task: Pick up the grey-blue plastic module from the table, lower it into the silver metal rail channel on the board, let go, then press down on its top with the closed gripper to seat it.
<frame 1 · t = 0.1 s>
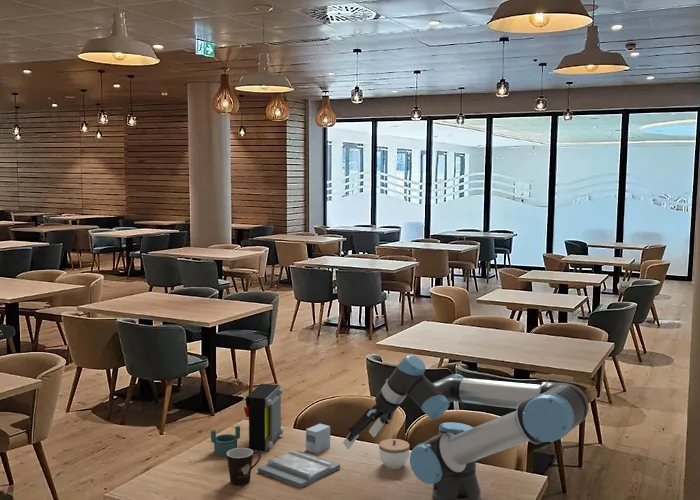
hand: (359, 439, 226), 15 cm above the table, tool tilted 35°, fingers open, 13 cm apart
din rail: (299, 463, 239), on the mounting board, point 2 cm above the table
electrical component: (264, 442, 265), on the table
mounting board: (299, 470, 239), on the table
coffee mug: (244, 482, 230), on the table
module: (318, 448, 259), on the table
bracket: (226, 452, 255), on the table
lidded jar: (394, 466, 243), on the table
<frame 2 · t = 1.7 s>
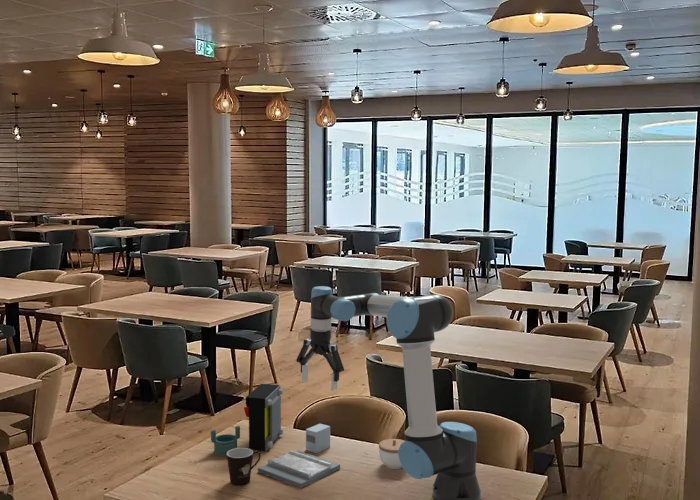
hand: (319, 385, 254), 25 cm above the table, tool pointing down, fingers open, 13 cm apart
nothing on the table moved.
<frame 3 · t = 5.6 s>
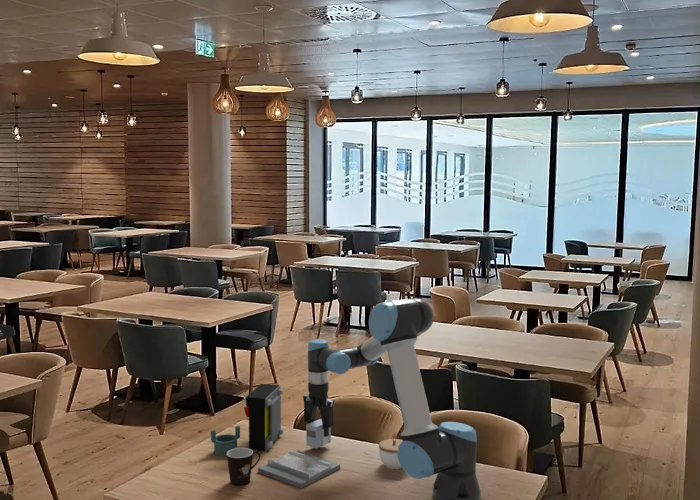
hand: (318, 442, 258), 2 cm above the table, tool pointing down, fingers closed on module, 5 cm apart
module: (318, 443, 258), point 2 cm above the table, touching gripper
everything else where it was.
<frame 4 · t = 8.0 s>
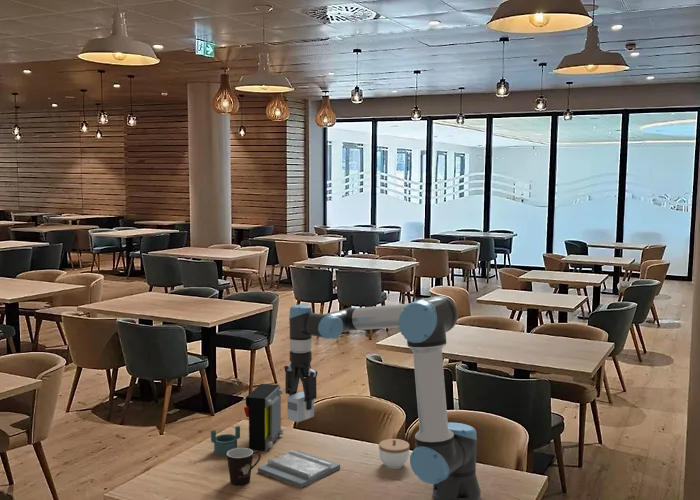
hand: (300, 416, 238), 19 cm above the table, tool pointing down, fingers closed on module, 5 cm apart
module: (300, 417, 238), point 18 cm above the table, touching gripper
everything else where it was.
when the fingers open (3 cm above the table, at t = 10.7 s): module stays where it is, resting on din rail.
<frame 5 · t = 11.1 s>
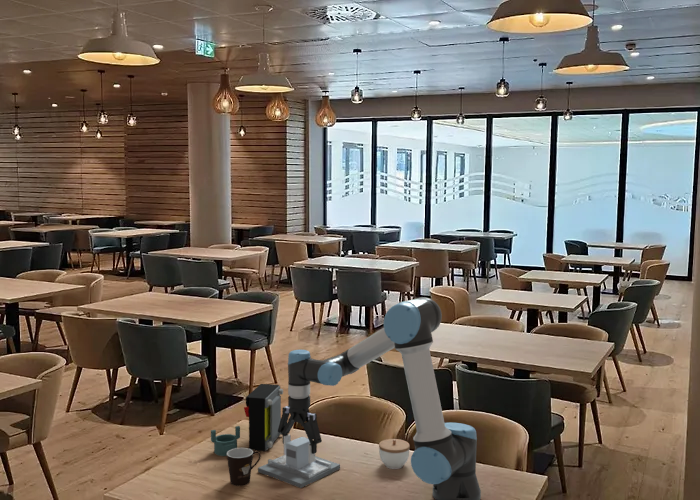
hand: (299, 457, 239), 4 cm above the table, tool pointing down, fingers open, 11 cm apart
module: (299, 463, 239), point 2 cm above the table, touching din rail
everything else where it was.
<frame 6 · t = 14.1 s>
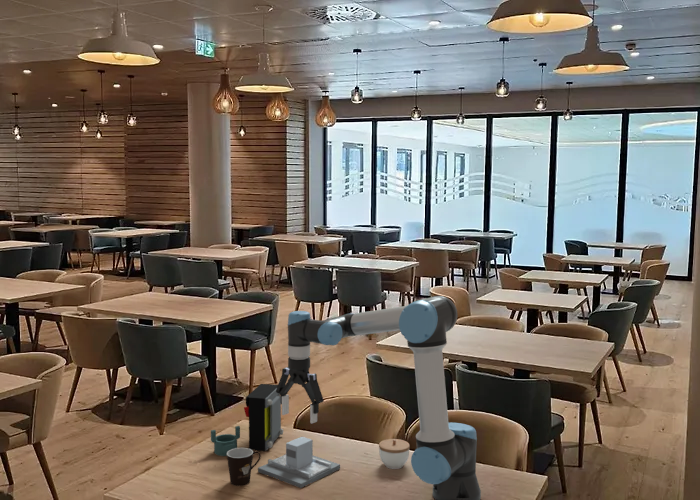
hand: (299, 418, 237), 19 cm above the table, tool pointing down, fingers open, 12 cm apart
nothing on the table moved.
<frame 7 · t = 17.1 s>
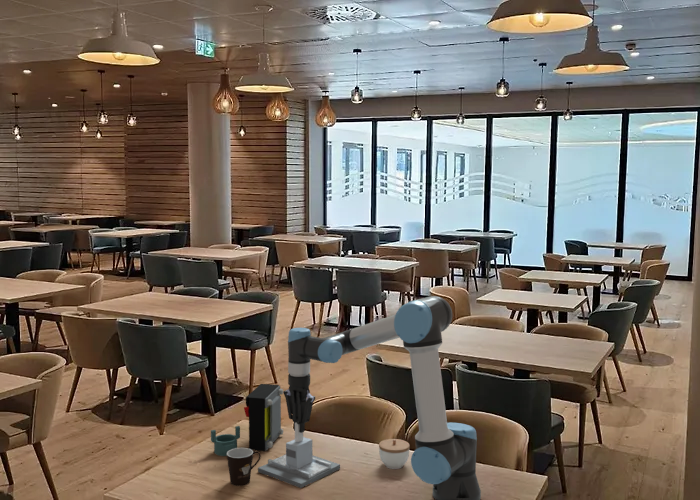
hand: (299, 440, 238), 11 cm above the table, tool pointing down, fingers closed
module: (299, 463, 239), point 2 cm above the table, touching din rail, gripper
everything else where it was.
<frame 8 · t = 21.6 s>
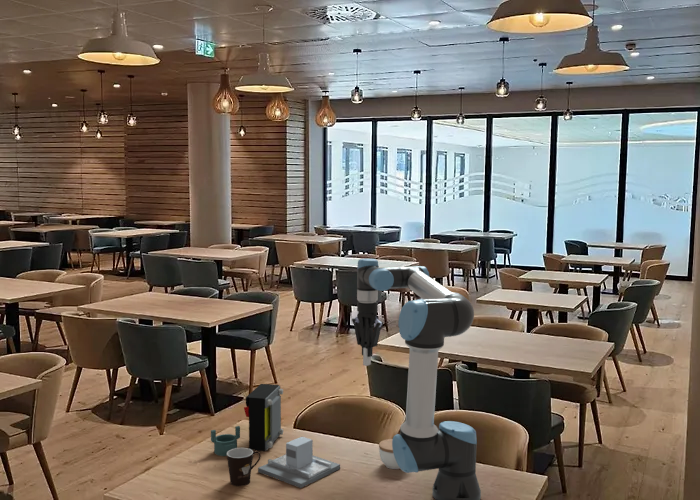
hand: (367, 364, 254), 32 cm above the table, tool pointing down, fingers closed
module: (299, 463, 239), point 2 cm above the table, touching din rail
everything else where it was.
at the end: module 0.0 cm off-centre on the din rail, point 2.3 cm above the din rail's base; module tilted 0°; the gripper is holding nothing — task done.
